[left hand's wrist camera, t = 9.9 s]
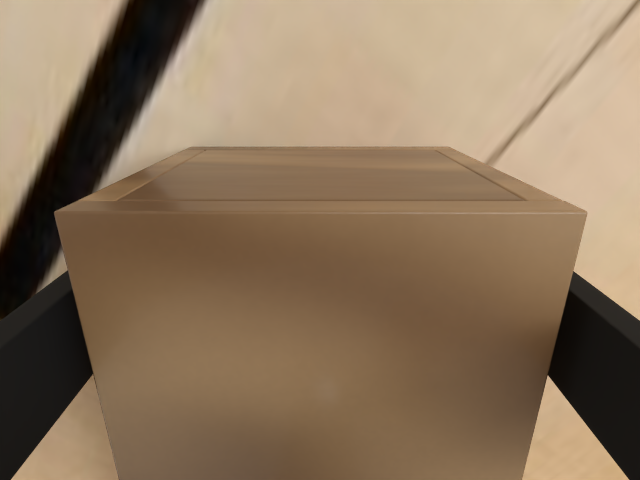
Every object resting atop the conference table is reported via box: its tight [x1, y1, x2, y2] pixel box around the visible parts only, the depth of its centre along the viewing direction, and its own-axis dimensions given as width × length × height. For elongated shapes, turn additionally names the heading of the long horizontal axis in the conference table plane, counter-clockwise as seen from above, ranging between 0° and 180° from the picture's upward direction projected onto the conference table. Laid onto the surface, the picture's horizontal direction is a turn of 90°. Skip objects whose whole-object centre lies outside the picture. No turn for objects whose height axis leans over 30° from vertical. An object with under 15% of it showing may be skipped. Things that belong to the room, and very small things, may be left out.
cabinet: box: [54, 147, 587, 480], centre depth 17 cm, size 21×11×10 cm, turn 0°
